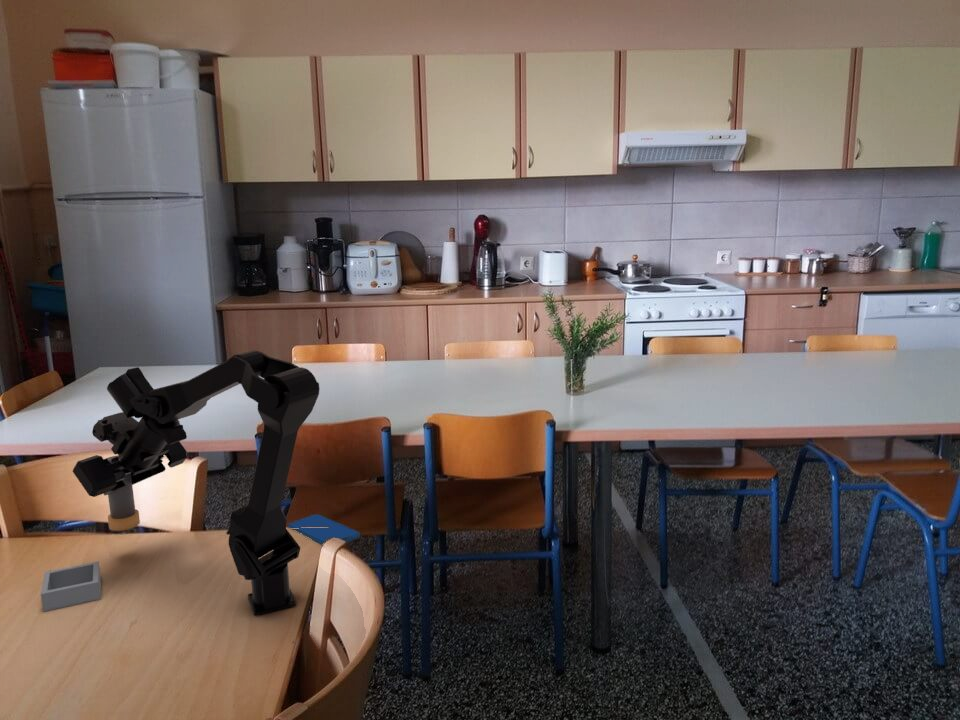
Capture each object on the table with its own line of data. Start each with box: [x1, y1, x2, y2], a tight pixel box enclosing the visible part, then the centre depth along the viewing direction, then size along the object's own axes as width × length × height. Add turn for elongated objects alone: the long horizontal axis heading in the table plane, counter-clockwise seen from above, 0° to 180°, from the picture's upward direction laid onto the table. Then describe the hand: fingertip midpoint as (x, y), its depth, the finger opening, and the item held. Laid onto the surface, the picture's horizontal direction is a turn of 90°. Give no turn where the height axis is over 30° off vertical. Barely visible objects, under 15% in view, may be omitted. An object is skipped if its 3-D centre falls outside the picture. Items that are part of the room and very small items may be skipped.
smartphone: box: [287, 513, 361, 546], centre depth 143 cm, size 7×1×15 cm
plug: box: [106, 454, 141, 532], centre depth 131 cm, size 5×5×12 cm
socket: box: [40, 560, 102, 612], centre depth 121 cm, size 8×8×3 cm
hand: (115, 488), depth 131 cm, fingers closed on plug, 4 cm apart
